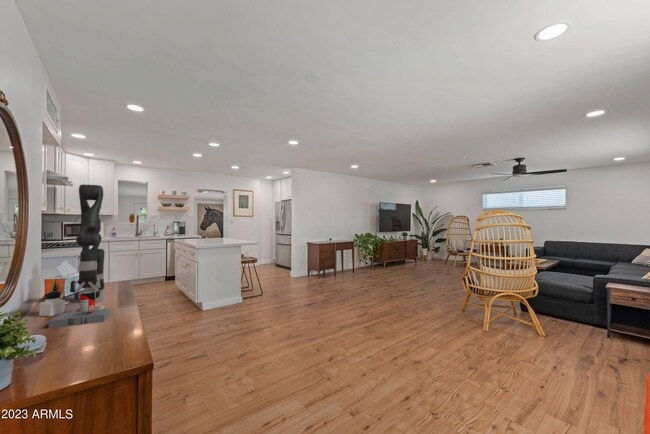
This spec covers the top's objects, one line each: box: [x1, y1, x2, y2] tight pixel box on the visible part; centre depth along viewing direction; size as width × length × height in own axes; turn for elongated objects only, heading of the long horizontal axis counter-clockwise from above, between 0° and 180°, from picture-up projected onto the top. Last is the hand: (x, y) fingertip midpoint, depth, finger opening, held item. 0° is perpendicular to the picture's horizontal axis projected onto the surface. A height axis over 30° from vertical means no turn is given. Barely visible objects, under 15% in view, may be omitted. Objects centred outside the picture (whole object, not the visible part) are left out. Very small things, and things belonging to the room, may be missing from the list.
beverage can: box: [79, 291, 96, 311], centre depth 150 cm, size 6×6×12 cm
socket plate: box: [48, 307, 112, 329], centre depth 139 cm, size 21×12×4 cm, turn 115°
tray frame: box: [72, 305, 105, 312], centre depth 150 cm, size 12×12×2 cm
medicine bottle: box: [39, 290, 66, 317], centre depth 149 cm, size 7×7×12 cm
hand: (87, 298), depth 150 cm, fingers open, 8 cm apart
